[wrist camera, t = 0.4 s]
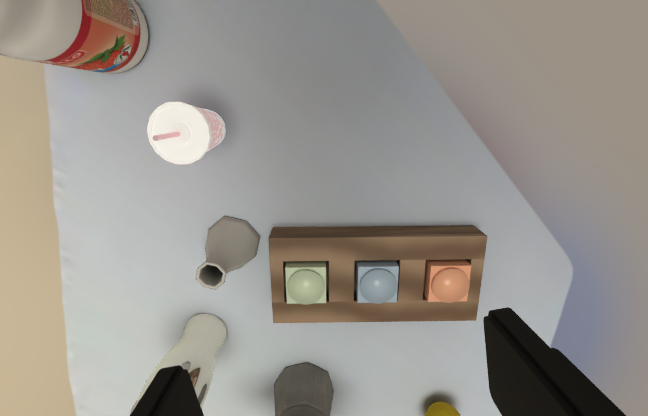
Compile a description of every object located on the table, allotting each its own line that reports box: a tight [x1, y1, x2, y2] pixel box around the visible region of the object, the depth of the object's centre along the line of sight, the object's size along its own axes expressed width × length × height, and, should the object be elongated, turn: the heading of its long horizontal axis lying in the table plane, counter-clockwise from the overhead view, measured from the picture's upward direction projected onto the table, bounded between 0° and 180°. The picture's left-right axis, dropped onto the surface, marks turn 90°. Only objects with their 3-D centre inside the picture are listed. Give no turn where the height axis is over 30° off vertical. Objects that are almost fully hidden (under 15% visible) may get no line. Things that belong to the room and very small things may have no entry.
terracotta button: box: [423, 259, 471, 303], centre depth 44 cm, size 5×5×3 cm
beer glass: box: [130, 314, 227, 415], centre depth 43 cm, size 7×7×15 cm
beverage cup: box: [147, 102, 226, 164], centre depth 36 cm, size 6×6×14 cm
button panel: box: [269, 225, 487, 323], centre depth 46 cm, size 12×27×4 cm, turn 90°
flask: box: [196, 216, 260, 290], centre depth 42 cm, size 7×7×10 cm
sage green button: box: [285, 261, 326, 305], centre depth 44 cm, size 5×5×3 cm
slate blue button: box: [356, 260, 399, 304], centre depth 44 cm, size 5×5×3 cm
